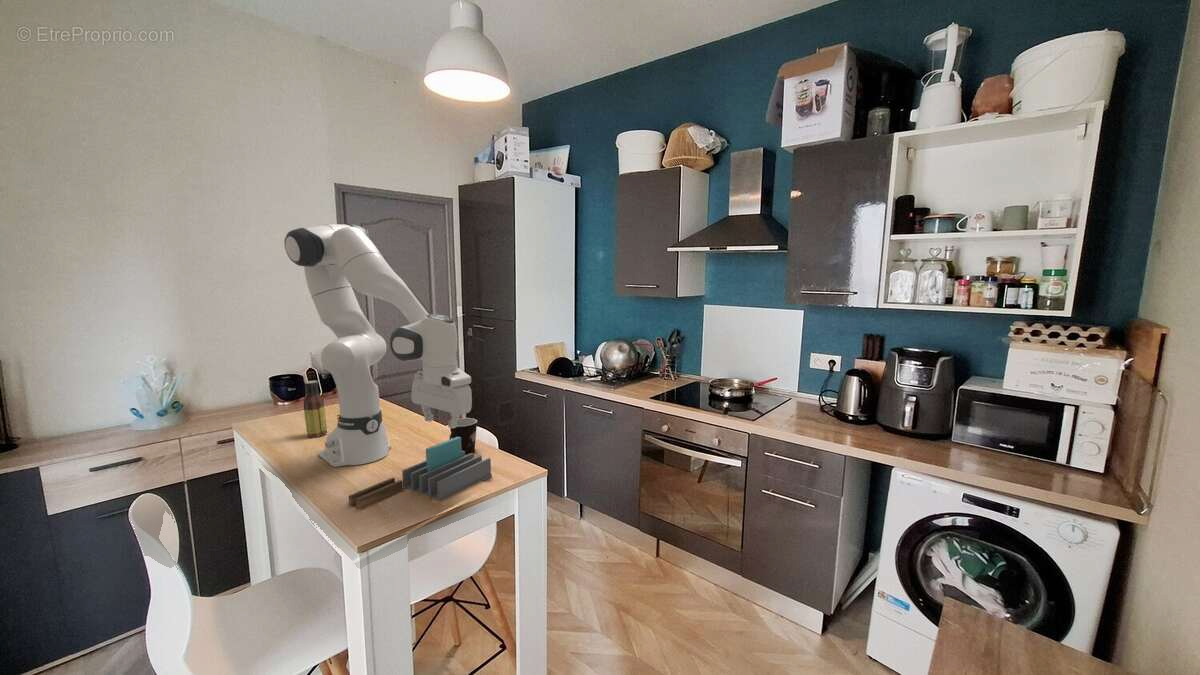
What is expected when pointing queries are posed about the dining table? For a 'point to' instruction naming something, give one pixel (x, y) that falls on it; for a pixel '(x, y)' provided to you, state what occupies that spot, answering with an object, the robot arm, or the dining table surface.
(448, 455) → the plate
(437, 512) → the dining table surface
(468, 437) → the coffee mug
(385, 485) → the stand
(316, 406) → the sauce bottle
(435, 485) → the rack
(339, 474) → the dining table surface
